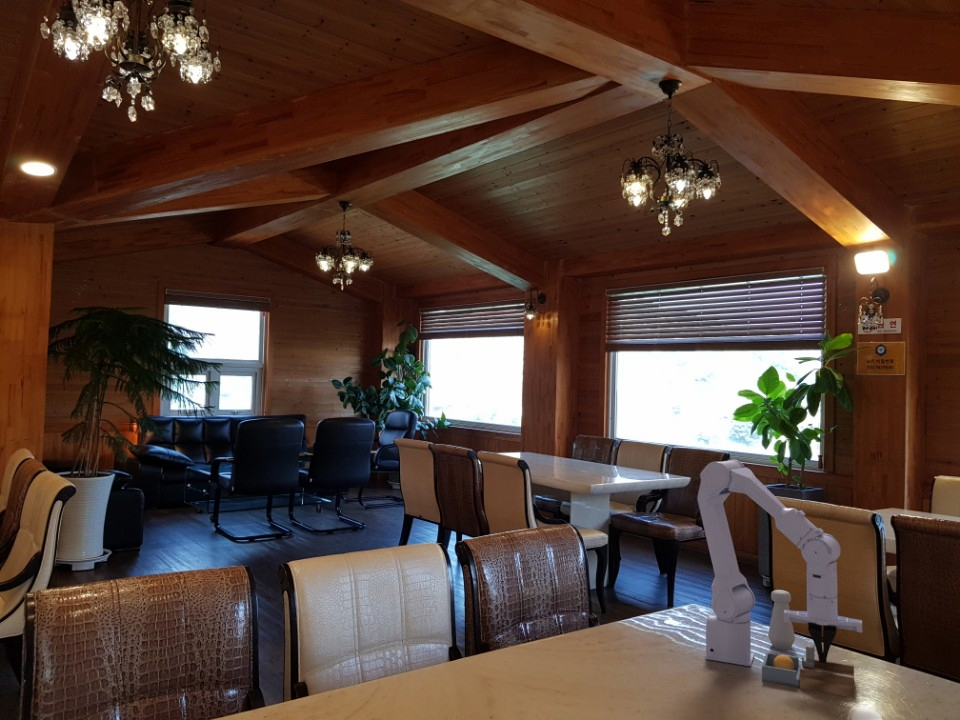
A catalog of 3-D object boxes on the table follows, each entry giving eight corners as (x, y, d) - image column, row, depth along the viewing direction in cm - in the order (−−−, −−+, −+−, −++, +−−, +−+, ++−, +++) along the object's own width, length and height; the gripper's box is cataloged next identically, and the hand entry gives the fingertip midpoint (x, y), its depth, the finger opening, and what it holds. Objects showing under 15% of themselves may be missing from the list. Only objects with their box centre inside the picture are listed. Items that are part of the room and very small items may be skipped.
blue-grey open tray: (762, 680, 149) (761, 665, 149) (766, 666, 157) (766, 652, 157) (798, 687, 146) (798, 672, 146) (801, 672, 154) (801, 657, 154)
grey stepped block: (803, 673, 147) (803, 647, 147) (804, 664, 152) (804, 639, 152) (814, 674, 146) (813, 649, 146) (815, 666, 151) (814, 641, 151)
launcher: (799, 688, 145) (799, 670, 145) (802, 671, 154) (802, 654, 154) (854, 698, 141) (854, 679, 141) (854, 680, 149) (853, 663, 150)
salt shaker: (797, 652, 165) (796, 595, 166) (771, 650, 166) (770, 593, 167) (791, 643, 171) (791, 588, 172) (766, 641, 172) (765, 587, 173)
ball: (778, 654, 150) (796, 666, 148) (779, 648, 153) (798, 659, 152) (769, 670, 150) (787, 682, 149) (770, 663, 154) (788, 675, 152)
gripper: (782, 594, 148) (783, 661, 148) (862, 604, 142) (863, 674, 141) (785, 586, 154) (785, 650, 154) (861, 595, 148) (862, 662, 147)
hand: (822, 661), depth 148 cm, fingers closed
